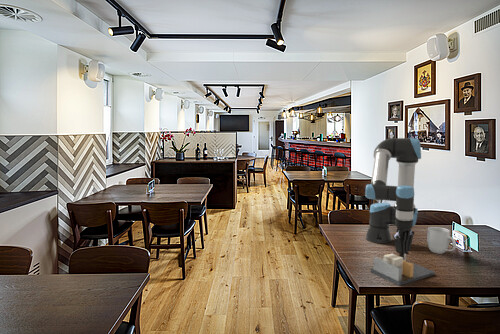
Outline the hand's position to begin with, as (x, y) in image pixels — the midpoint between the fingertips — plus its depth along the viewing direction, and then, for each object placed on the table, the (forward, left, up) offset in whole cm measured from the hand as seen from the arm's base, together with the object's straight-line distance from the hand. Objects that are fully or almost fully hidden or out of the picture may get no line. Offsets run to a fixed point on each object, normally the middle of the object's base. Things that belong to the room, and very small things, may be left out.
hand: (402, 266), depth 153 cm
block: (0, -7, -2) cm, 7 cm away
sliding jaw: (0, -3, -2) cm, 3 cm away
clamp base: (0, 0, -4) cm, 4 cm away
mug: (-9, +43, -4) cm, 44 cm away
